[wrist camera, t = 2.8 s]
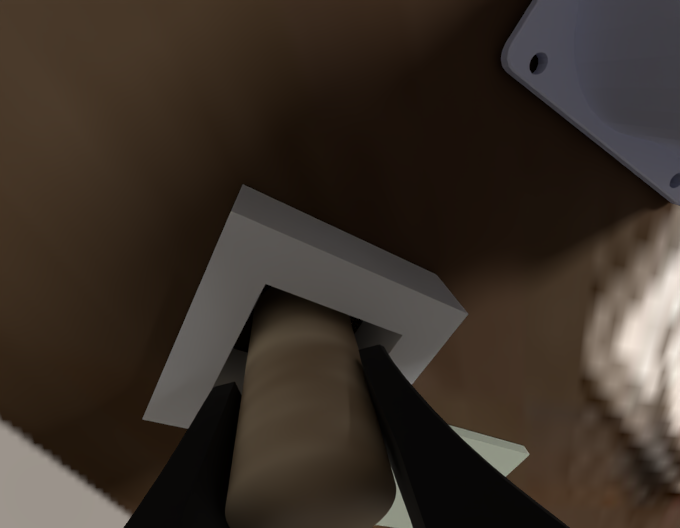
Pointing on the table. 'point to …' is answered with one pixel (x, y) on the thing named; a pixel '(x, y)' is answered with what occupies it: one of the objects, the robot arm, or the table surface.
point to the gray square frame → (304, 281)
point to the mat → (490, 448)
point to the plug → (306, 425)
